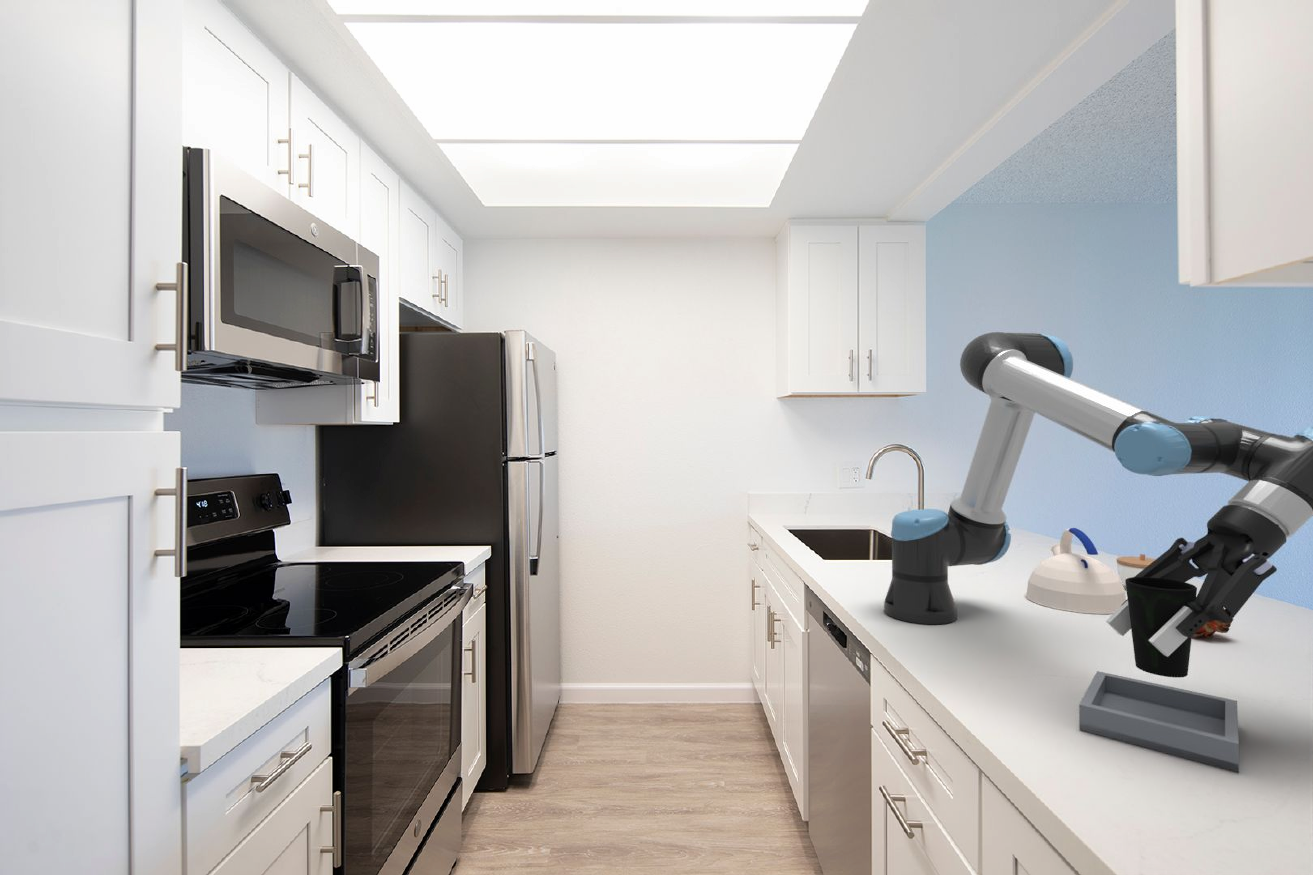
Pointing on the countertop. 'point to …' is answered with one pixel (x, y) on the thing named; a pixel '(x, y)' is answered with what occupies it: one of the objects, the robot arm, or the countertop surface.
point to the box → (1162, 719)
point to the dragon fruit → (1213, 628)
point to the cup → (1157, 622)
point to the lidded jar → (1131, 566)
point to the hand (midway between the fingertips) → (1135, 638)
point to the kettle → (1075, 580)
